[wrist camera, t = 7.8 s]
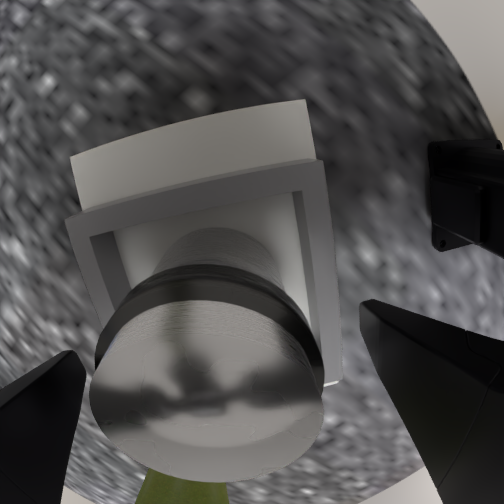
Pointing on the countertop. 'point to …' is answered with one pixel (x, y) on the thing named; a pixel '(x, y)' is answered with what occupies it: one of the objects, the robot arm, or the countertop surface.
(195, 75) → the countertop surface
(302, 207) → the grey open box
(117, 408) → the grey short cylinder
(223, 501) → the plant pot
